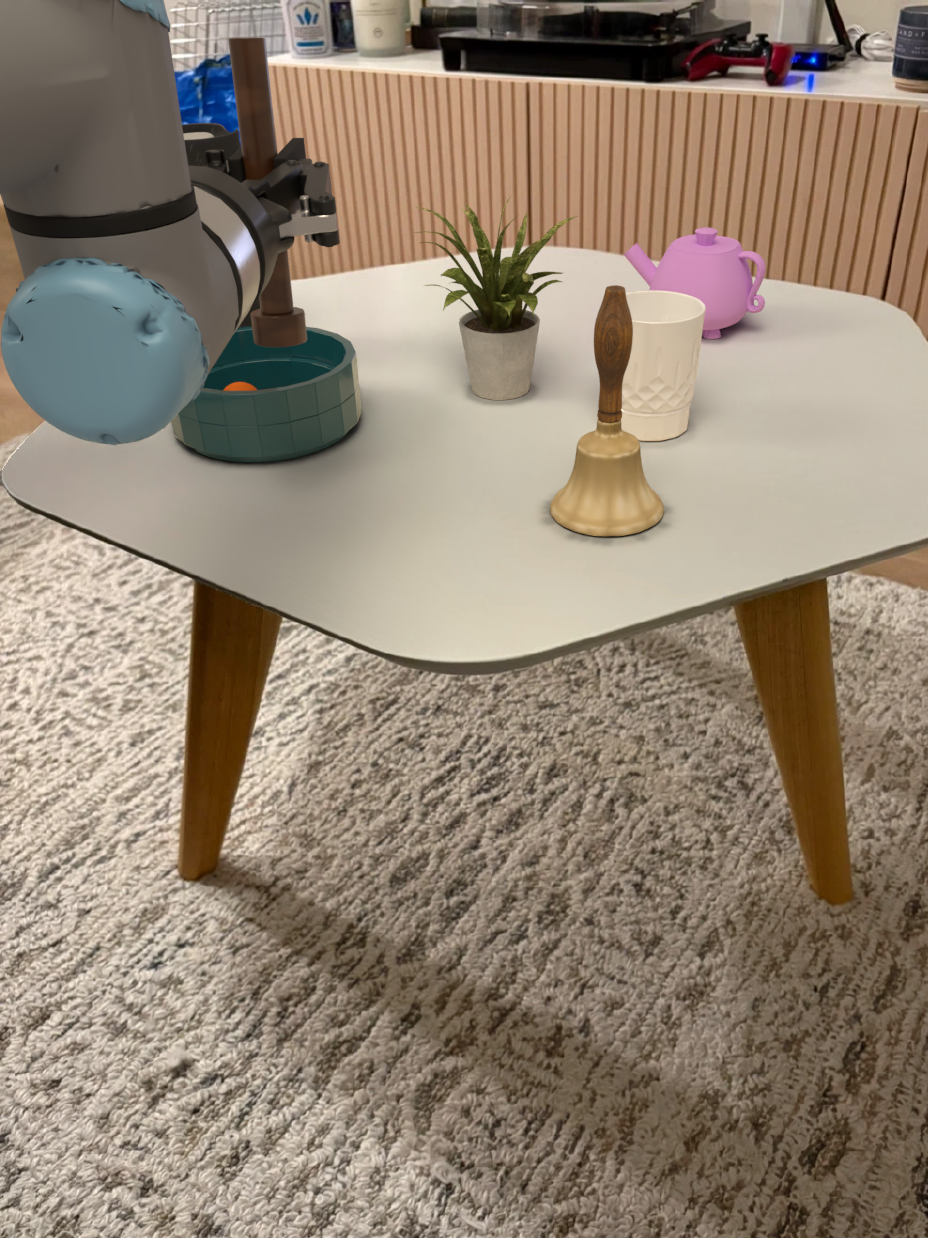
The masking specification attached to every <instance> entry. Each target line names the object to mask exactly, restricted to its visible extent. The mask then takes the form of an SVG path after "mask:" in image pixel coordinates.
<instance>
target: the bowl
mask: <svg viewBox="0 0 928 1238" xmlns="http://www.w3.org/2000/svg"><path fill="white" fill-rule="evenodd" d="M306 332H307V341H306V342H304V343H302V344H299V345H295V346H289V347H263V346H258V345H256V344H255V343H254V339H253V331H252V326H251V327H242V328H238V329H237V330H236V332H235V333H234V334H233V335H232V337H231V339H230V341H229V342H228V344H227V345H226V347H225V348H224V350H223V352H222V353H221V355H220V356H219V358H218V359H217V361H216V363H215V364H214V366H213V367H212V369H211V371H210V372H209V374H208V376H207V378H206V380H205V383H204V387H203V388H201V389H200V394H199V395H198V396H197V397H196V398H195V400H194V401H192V402H191V403H190V404H189V405H187V406H185V407H184V408H183V409H182V410H181V411H180V412H179V413H178V414H177V415H176V416H175V418H174V419H173V420H172V421H171V422H170V423H171V426H172V431H173V435H174V436H175V437H176V438H177V439H178V440H179V441H181V442H182V443H183V445H185V446H187V447H189V448H191V449H192V450H193V451H195V452H197V453H198V454H200V455H203V456H205V457H209V458H211V459H214V460H215V459H216V460H220V461H225V462H235V463H269V462H278V461H285V460H290V459H295V458H300V457H304V456H307V455H311V454H314V453H317V452H320V451H322V450H324V449H327V448H329V447H330V446H333V445H334V444H336V443H338V442H339V441H341V440H342V439H344V437H345V436H347V434H349V432H350V431H351V429H352V428H353V427H355V426H356V425H357V424H358V423H359V420H360V417H361V414H362V411H363V408H362V399H361V388H360V379H359V369H358V359H357V351H356V350H355V347H354V345H353V342H352V341H351V340H349V339H348V338H345V337H344V336H343V335H340V334H339V333H337V332H333V331H329V330H326V329H322V328H319V327H313V326H306ZM235 382H246V383H249V384H251V385H253V386H254V387H255V388H256V389H257V390H254V391H223V390H224V389H225V387H227V386H228V385H230V384H232V383H235Z"/></svg>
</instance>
